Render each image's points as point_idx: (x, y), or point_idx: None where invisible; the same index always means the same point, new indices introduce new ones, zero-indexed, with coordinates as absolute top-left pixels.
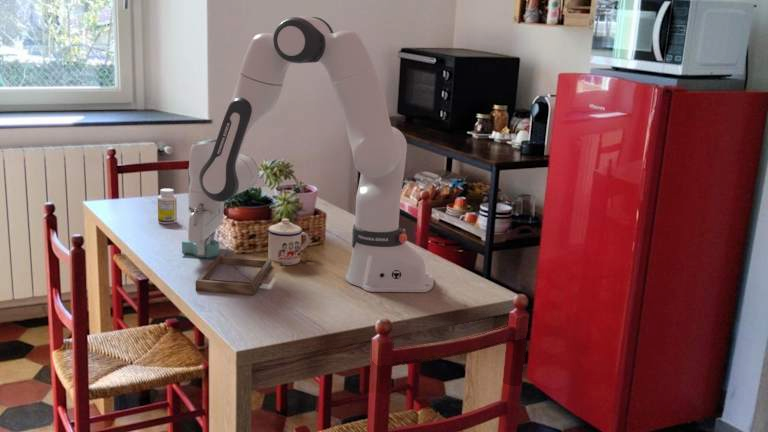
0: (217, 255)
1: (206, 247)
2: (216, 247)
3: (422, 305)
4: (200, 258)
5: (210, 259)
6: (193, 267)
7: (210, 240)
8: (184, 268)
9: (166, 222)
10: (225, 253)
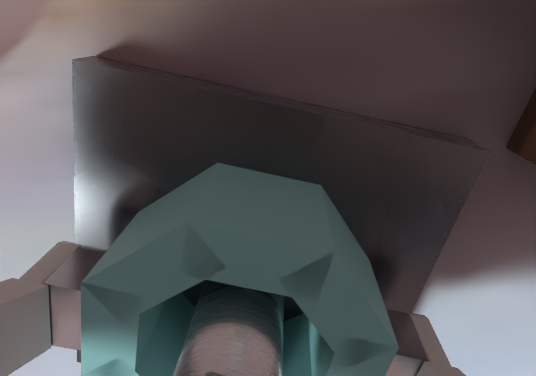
0: (310, 176)
1: (390, 345)
2: (330, 232)
3: None
4: (398, 309)
5: (444, 234)
6: (519, 325)
7: (126, 322)
8: (529, 373)
9: None
10: (232, 94)
